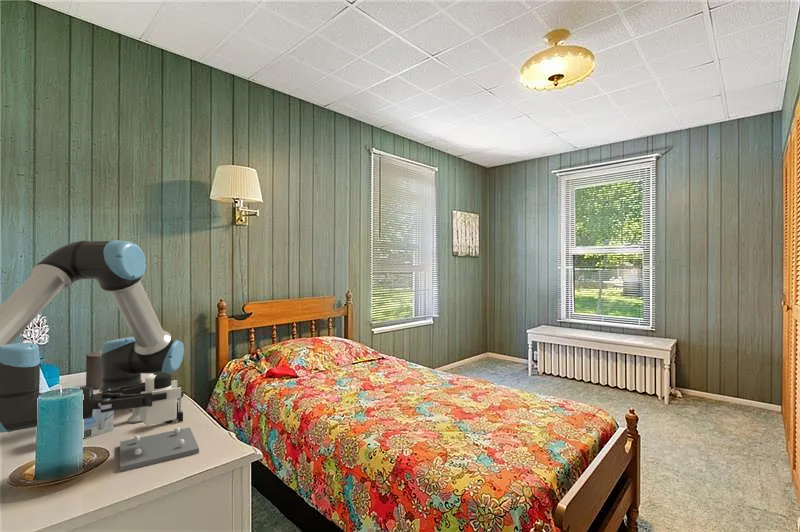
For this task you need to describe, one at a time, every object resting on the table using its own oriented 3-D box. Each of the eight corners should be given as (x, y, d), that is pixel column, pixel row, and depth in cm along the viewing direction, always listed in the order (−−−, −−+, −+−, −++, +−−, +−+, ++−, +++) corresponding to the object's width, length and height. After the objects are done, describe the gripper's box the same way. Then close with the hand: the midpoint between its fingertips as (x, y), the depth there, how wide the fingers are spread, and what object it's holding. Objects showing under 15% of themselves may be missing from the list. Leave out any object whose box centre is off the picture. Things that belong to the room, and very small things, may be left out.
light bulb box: (71, 443, 111) (71, 404, 111) (61, 437, 115) (62, 400, 115) (115, 429, 120) (115, 394, 120) (104, 425, 124) (104, 390, 124)
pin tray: (120, 446, 109) (120, 434, 109) (189, 431, 119) (189, 420, 119) (120, 471, 95) (120, 458, 95) (199, 452, 105) (199, 440, 105)
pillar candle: (79, 388, 162) (80, 351, 162) (103, 382, 171) (104, 347, 171) (97, 391, 159) (97, 353, 159) (121, 384, 168) (121, 348, 168)
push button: (159, 426, 123) (159, 394, 123) (160, 421, 127) (160, 389, 127) (184, 422, 126) (184, 391, 126) (184, 417, 130) (184, 386, 130)
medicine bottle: (169, 412, 112) (169, 369, 112) (176, 419, 107) (177, 374, 107) (139, 418, 107) (140, 373, 107) (146, 426, 102) (146, 379, 102)
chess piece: (134, 417, 131) (135, 389, 131) (151, 417, 130) (151, 389, 130) (123, 423, 125) (123, 394, 125) (139, 423, 125) (139, 394, 125)
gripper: (75, 408, 105) (174, 392, 118) (67, 434, 88) (183, 413, 101) (76, 379, 105) (174, 367, 118) (67, 400, 88) (183, 383, 101)
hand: (178, 388), depth 110 cm, fingers closed on medicine bottle, 8 cm apart
